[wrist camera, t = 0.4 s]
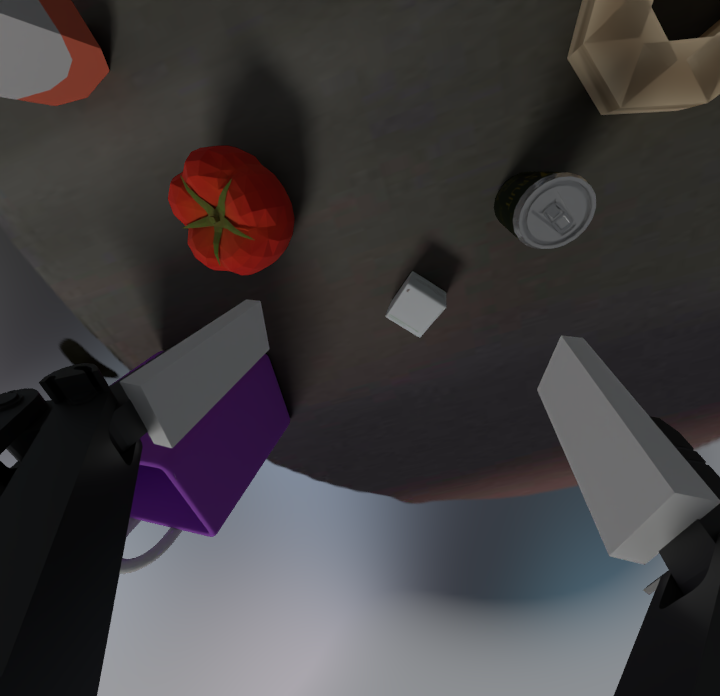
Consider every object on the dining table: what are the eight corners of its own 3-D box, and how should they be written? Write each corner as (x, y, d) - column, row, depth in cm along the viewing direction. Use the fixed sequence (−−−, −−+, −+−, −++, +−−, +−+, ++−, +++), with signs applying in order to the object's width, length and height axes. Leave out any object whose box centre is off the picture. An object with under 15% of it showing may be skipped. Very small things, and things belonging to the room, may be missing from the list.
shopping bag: (256, 326, 49) (67, 483, 24) (306, 418, 59) (207, 599, 34) (151, 351, 60) (-57, 479, 35) (208, 426, 69) (77, 569, 44)
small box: (389, 302, 41) (383, 317, 37) (412, 269, 38) (408, 281, 34) (422, 323, 41) (420, 339, 37) (447, 292, 38) (448, 306, 34)
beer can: (559, 197, 30) (617, 210, 20) (513, 237, 33) (543, 266, 23) (527, 158, 29) (570, 153, 19) (482, 203, 32) (500, 218, 22)
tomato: (306, 267, 41) (269, 292, 32) (224, 253, 43) (170, 274, 35) (304, 153, 34) (256, 148, 25) (206, 143, 36) (130, 134, 27)
